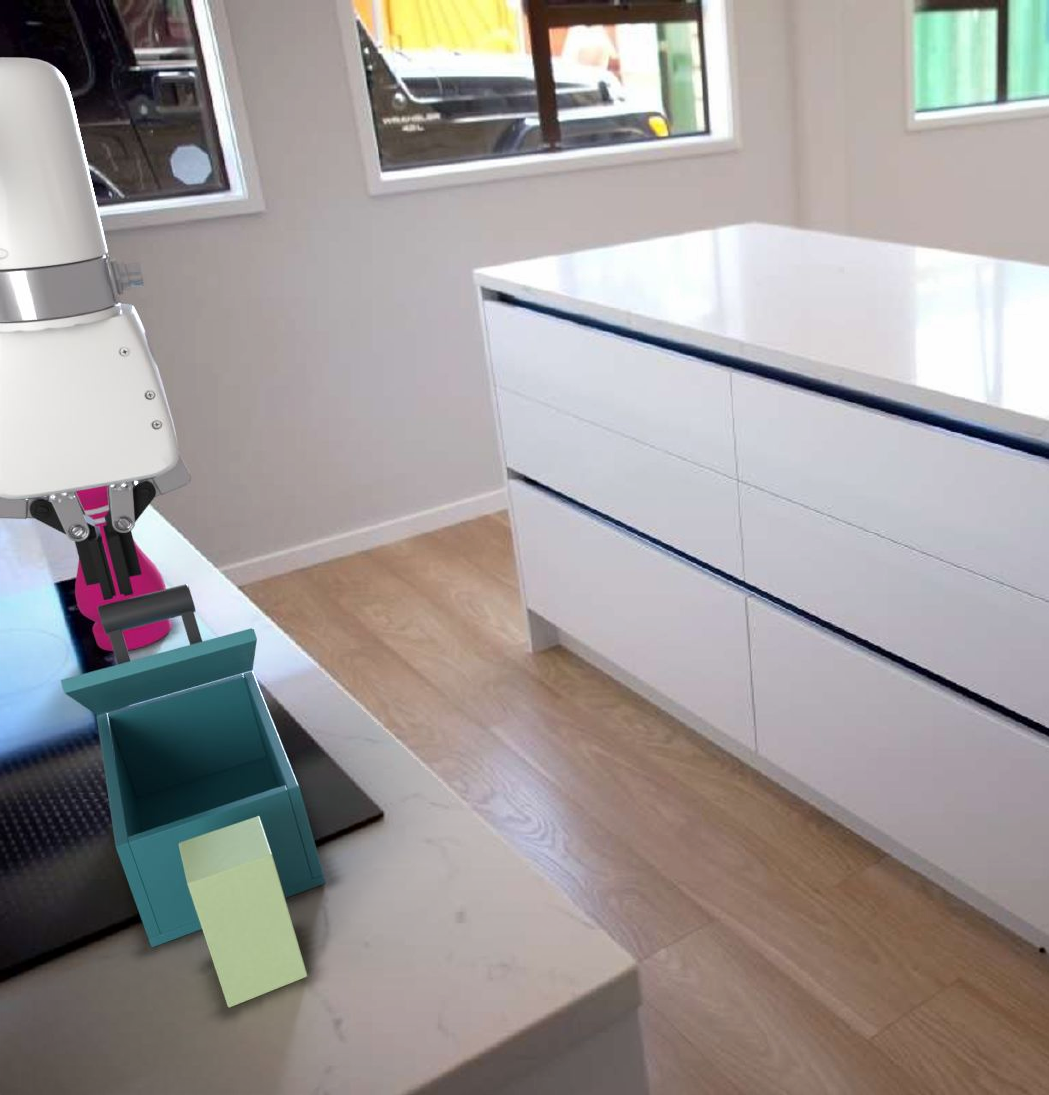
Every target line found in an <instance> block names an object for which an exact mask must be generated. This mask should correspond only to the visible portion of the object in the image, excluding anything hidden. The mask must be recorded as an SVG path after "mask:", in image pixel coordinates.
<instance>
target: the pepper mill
mask: <svg viewBox="0 0 1049 1095" xmlns="http://www.w3.org/2000/svg"><path fill="white" fill-rule="evenodd" d="M76 493H77V496H78V498H79V500H80V502H81V504H82V507H83V509H84V511H85V513H86V515H87V516H89V517H90V518H92V519H93V520H94V524H95V527H98V526H99V528H100V532H101V536H102V540H103V544H104V548H105V551H106V555H107V559H108V563H109V567H110V571H111V575H112V579H113V583H114V587H115V592H116V596H113V599H109V600H104V599H103V595H102V592H101V588H100V584H99V583H98V584H93V585H88V586H87V585H86V582H85V578H84V574H83V571H82V567H81V563H80V559H79V558H78V561H77V562H78V563H77V570H76V577H75V584H74V587H75V588H74V593H75V594H74V595H75V600H76V604H77V605H76V606H77V608H78V610H79V612H80V613H81V614H82V615H83V616H84V617H86V618H87V619H88V620H90V621H93V622H94V624H93V625H92V630H91V631H92V633H93V636H94V639H95V642H96V645H97V646H98V647H99V648H100V649H102V650H104V651H107V652H108V651H109V652H114V651H113V648H112V644H111V641H110V638H109V635H106V634H105V631H104V629H103V626H102V623H101V619H100V616H99V612H98V606H101V605H105V604H109V603H113V602H117V601H121V600H125V599H129V598H133V597H137V596H141V595H145V594H149V593H153V592H157V591H161V590H165V589H167V586H166V582H165V581H164V578H163V574H162V573H161V571H160V570H159V569H158V567H157V566H156V564H155V563H154V562H153V561H152V560H151V559H150V557H148V555H147V554H145V552H144V551H143V550H142V549H141V548H140V547H139V545H138V544H137V543H136V541H135V539H134V538H133V540H134V544H135V548H136V552H137V556H138V560H139V565H140V569H141V573H142V575H137V576H132V577H129V578H130V582H131V586H132V590H133V595H128V596H124V594H122V595H120V592H119V588H118V584H117V580H116V576H115V572H114V568H113V564H112V561H111V557H110V553H109V549H108V545H107V541H106V537H105V532H104V528H103V526H104V525H106V521H105V516H106V514H107V513H108V512H109V505H108V492H107V486H102V487H97V488H91V489H85V490H79V491H76ZM171 629H172V623H171V618H170V619H166V620H162V621H159V622H155V623H151V624H147V625H143V626H140V627H136V628H132V629H128V630H124V631H122V633H123V636H124V640H125V643H126V646H127V650H128V651H131V650H136V649H140V648H143V647H146V646H148V645H151V644H154V643H156V642H157V641H159V640H161V639H163V638H164V637H165V636H166V635H168V633H169V632H170V631H171Z"/></svg>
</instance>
